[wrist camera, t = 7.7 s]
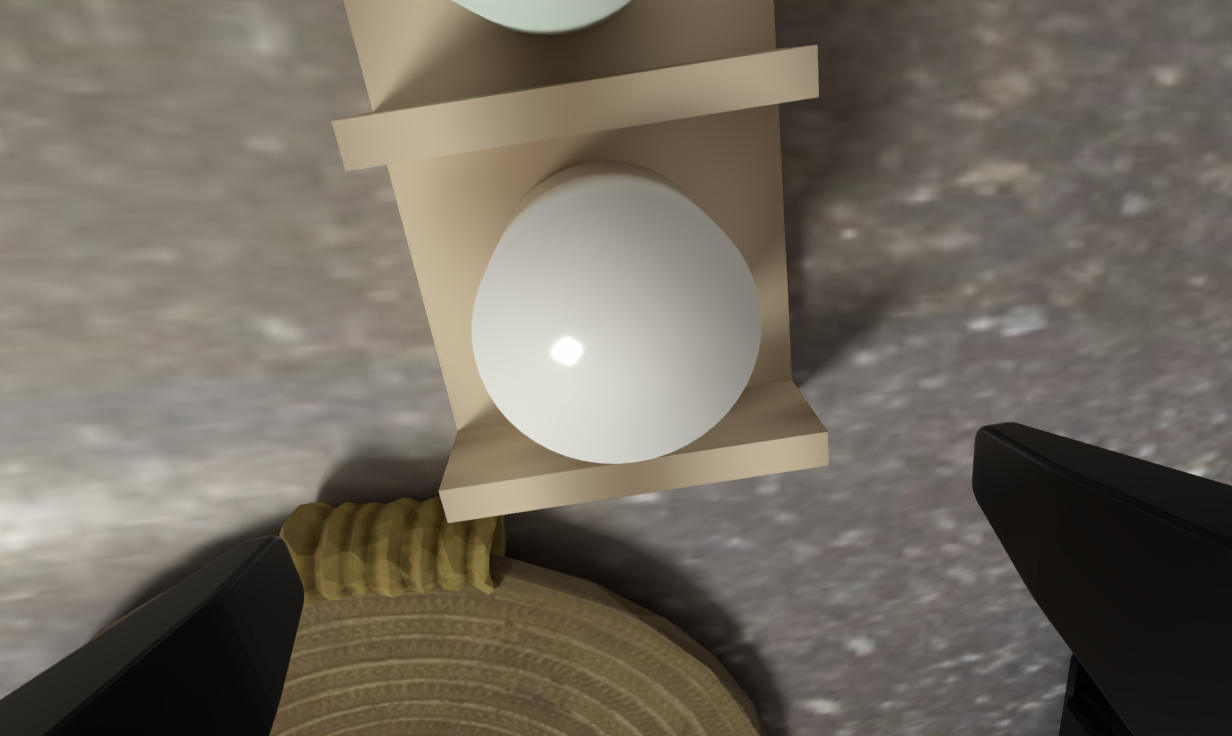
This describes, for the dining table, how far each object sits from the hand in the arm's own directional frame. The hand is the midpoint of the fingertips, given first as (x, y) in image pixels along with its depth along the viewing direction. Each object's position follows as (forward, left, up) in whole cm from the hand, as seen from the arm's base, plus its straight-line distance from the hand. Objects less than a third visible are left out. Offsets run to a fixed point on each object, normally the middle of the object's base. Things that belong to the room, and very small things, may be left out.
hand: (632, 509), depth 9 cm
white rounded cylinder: (0, 0, -11) cm, 11 cm away
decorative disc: (+10, +21, -13) cm, 26 cm away
